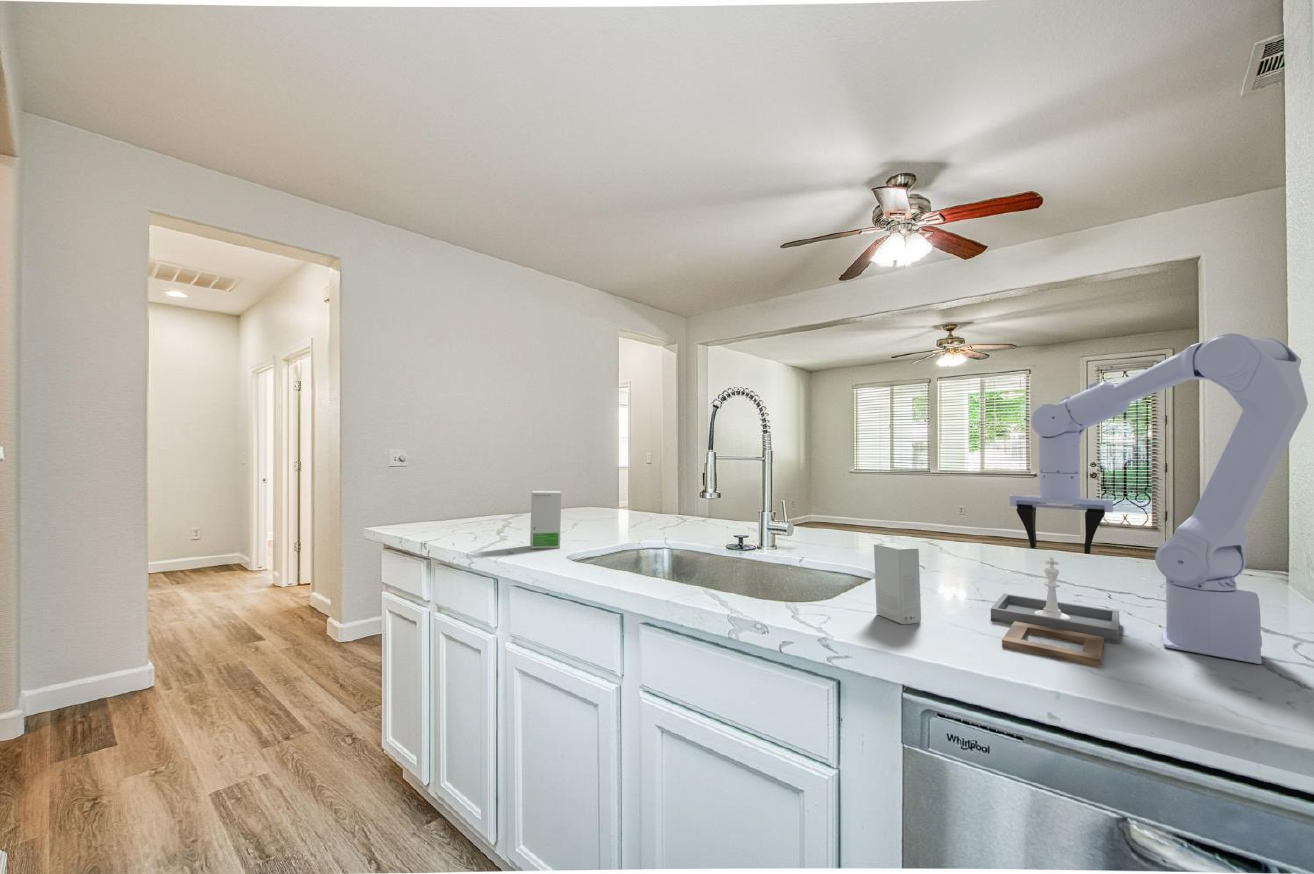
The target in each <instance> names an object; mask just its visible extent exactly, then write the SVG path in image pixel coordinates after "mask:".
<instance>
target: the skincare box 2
mask: <svg viewBox="0 0 1314 874" xmlns="http://www.w3.org/2000/svg"><path fill="white" fill-rule="evenodd" d="M919 550H920V549H919V547H918V548H917V547H913V546H909V545H904V544H901V543H900V544H898V543H895V542H883V543H875V544H873V556H874V557H873V558H874V579H875V580H874V581H875V582H874V583H875V606H876V609H875V611H876V615H878V616H880V617H883V618H885V619H888V620H891V621H892V622H896V623H898V624H900V625H911V624H912V625H913V624H918V623H922V609H921V608H922V607H921V604H922V603H921V584H920V583H921V581H920V580H921V576H920V555H919V554H920V553H919V552H920V551H919Z"/></svg>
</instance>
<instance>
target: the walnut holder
mask: <svg viewBox="0 0 1314 874" xmlns="http://www.w3.org/2000/svg"><path fill="white" fill-rule="evenodd" d="M1028 635H1033V636H1038V637H1043V638H1044V637H1045V638H1049V639H1054V640H1059V641H1064V642H1070V643H1074V644H1080V645H1083V647H1082V651H1081V650H1077V649H1072V648H1065V647H1061V646H1056V645H1052V644H1045V643H1042V642H1036V641H1030V640H1026V638H1027V636H1028ZM1104 646H1105V641H1104V637H1100V636H1094V635H1088V634H1083V633H1077V632H1072V631H1066V630H1061V629H1055V628H1050V627H1044V626H1038V625H1033V624H1027V623H1022V622H1016V621H1014V623H1013V624H1011V626H1010V627H1009V629H1008V630H1007V632H1005V635H1004V636H1003V638H1002V639H1001V647H1002V648H1005V649H1010V650H1015V651H1020V652H1024V653H1030V654H1034V655H1038V656H1044V657H1048V658H1054V659H1058V660H1063V661H1068V662H1073V663H1078V664H1081V665H1082V664H1083V665H1088V666H1093V667H1096V668H1102V661H1103V654H1104Z"/></svg>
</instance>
